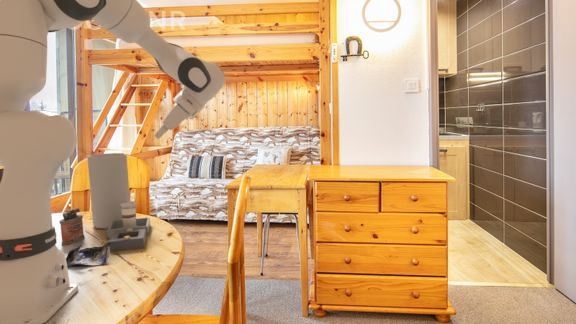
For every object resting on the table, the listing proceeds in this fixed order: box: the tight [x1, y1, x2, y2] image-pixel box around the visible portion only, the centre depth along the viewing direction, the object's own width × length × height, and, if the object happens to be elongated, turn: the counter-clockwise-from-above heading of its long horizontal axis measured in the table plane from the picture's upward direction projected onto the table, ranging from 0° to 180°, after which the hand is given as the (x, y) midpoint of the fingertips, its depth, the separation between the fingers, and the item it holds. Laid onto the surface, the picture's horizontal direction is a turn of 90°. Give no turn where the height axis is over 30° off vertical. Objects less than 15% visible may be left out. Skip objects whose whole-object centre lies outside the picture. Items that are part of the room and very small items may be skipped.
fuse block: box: [109, 229, 147, 253], centre depth 115 cm, size 10×9×4 cm
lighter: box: [59, 207, 85, 247], centre depth 119 cm, size 8×3×10 cm, turn 169°
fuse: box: [120, 200, 137, 228], centre depth 128 cm, size 5×5×10 cm
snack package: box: [66, 242, 111, 267], centre depth 101 cm, size 12×6×12 cm
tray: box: [106, 216, 151, 240], centre depth 128 cm, size 12×12×3 cm
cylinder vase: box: [86, 152, 131, 230], centre depth 137 cm, size 12×12×25 cm
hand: (156, 136), depth 124 cm, fingers open, 8 cm apart
